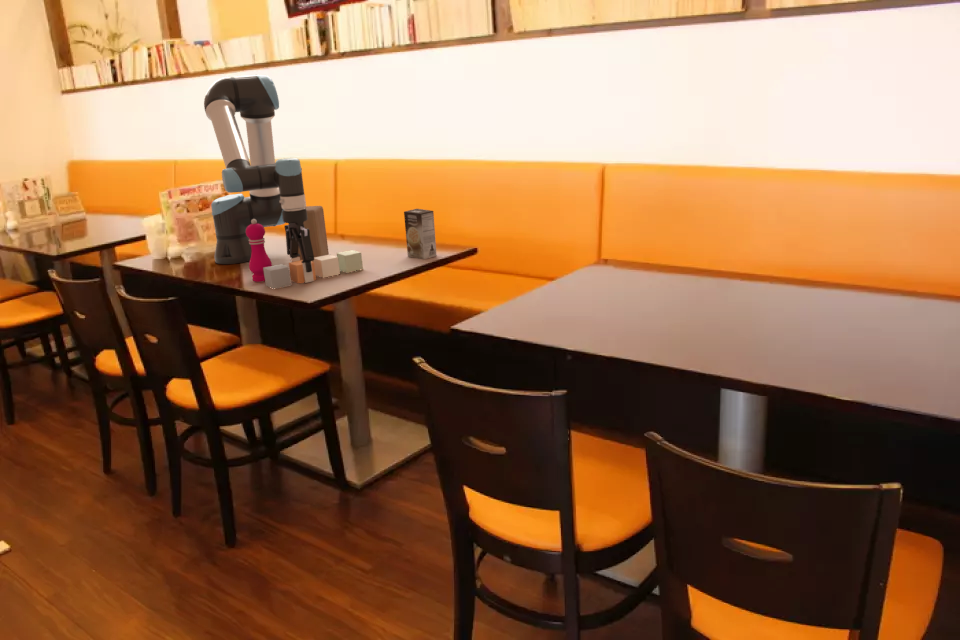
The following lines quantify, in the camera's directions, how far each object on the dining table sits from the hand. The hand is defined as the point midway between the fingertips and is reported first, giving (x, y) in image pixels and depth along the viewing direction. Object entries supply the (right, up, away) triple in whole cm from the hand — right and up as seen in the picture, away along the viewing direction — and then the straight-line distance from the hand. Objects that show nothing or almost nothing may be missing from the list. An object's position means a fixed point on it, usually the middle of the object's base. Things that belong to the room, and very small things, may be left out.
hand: (303, 279), depth 247 cm
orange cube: (0, 0, 0) cm, 0 cm away
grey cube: (-7, -2, -5) cm, 9 cm away
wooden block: (-1, +6, +19) cm, 20 cm away
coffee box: (+36, +9, +23) cm, 44 cm away
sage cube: (+14, +4, +10) cm, 17 cm away
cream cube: (+7, +2, +5) cm, 9 cm away
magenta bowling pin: (-14, 0, +4) cm, 15 cm away
